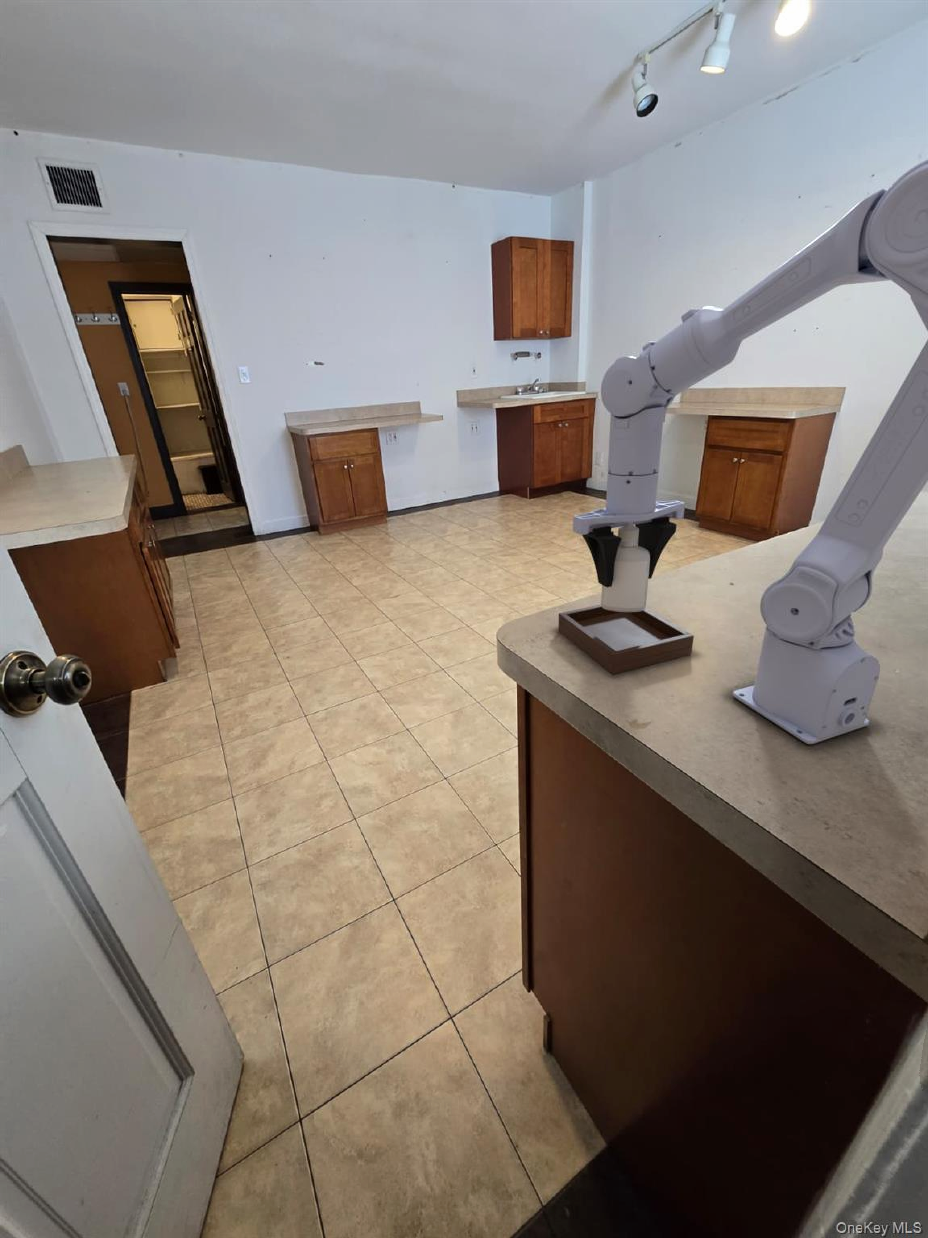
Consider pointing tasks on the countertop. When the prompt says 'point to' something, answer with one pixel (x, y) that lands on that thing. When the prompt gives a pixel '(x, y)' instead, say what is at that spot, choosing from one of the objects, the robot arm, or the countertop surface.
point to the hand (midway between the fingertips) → (625, 580)
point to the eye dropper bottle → (628, 574)
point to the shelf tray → (624, 637)
